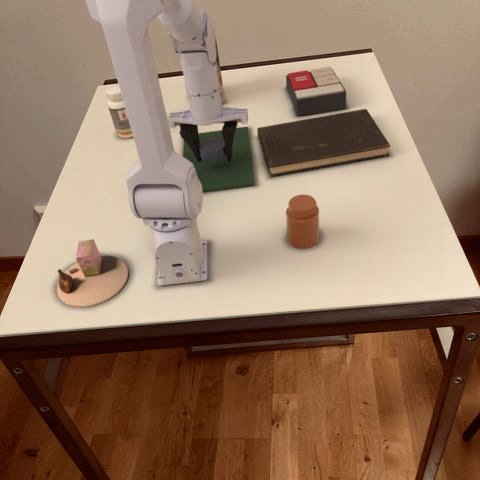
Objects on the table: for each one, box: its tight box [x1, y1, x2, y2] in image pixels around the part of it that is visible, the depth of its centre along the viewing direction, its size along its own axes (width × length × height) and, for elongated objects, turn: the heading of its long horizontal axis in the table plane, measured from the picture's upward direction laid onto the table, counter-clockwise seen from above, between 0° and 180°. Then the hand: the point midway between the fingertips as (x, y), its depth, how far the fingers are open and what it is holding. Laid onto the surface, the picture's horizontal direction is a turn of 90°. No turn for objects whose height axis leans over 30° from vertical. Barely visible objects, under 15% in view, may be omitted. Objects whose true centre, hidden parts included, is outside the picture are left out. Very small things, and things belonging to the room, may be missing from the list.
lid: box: [198, 137, 226, 161], centre depth 97 cm, size 6×6×2 cm
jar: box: [285, 194, 320, 249], centre depth 81 cm, size 5×5×7 cm
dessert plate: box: [56, 239, 130, 308], centre depth 82 cm, size 12×12×4 cm
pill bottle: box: [105, 84, 133, 139], centre depth 112 cm, size 6×6×10 cm
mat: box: [182, 126, 255, 193], centre depth 103 cm, size 22×14×1 cm, turn 3°
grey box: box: [285, 66, 347, 117], centre depth 115 cm, size 11×4×15 cm
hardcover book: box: [256, 108, 391, 178], centre depth 101 cm, size 16×23×2 cm
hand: (215, 158), depth 99 cm, fingers closed on lid, 5 cm apart
